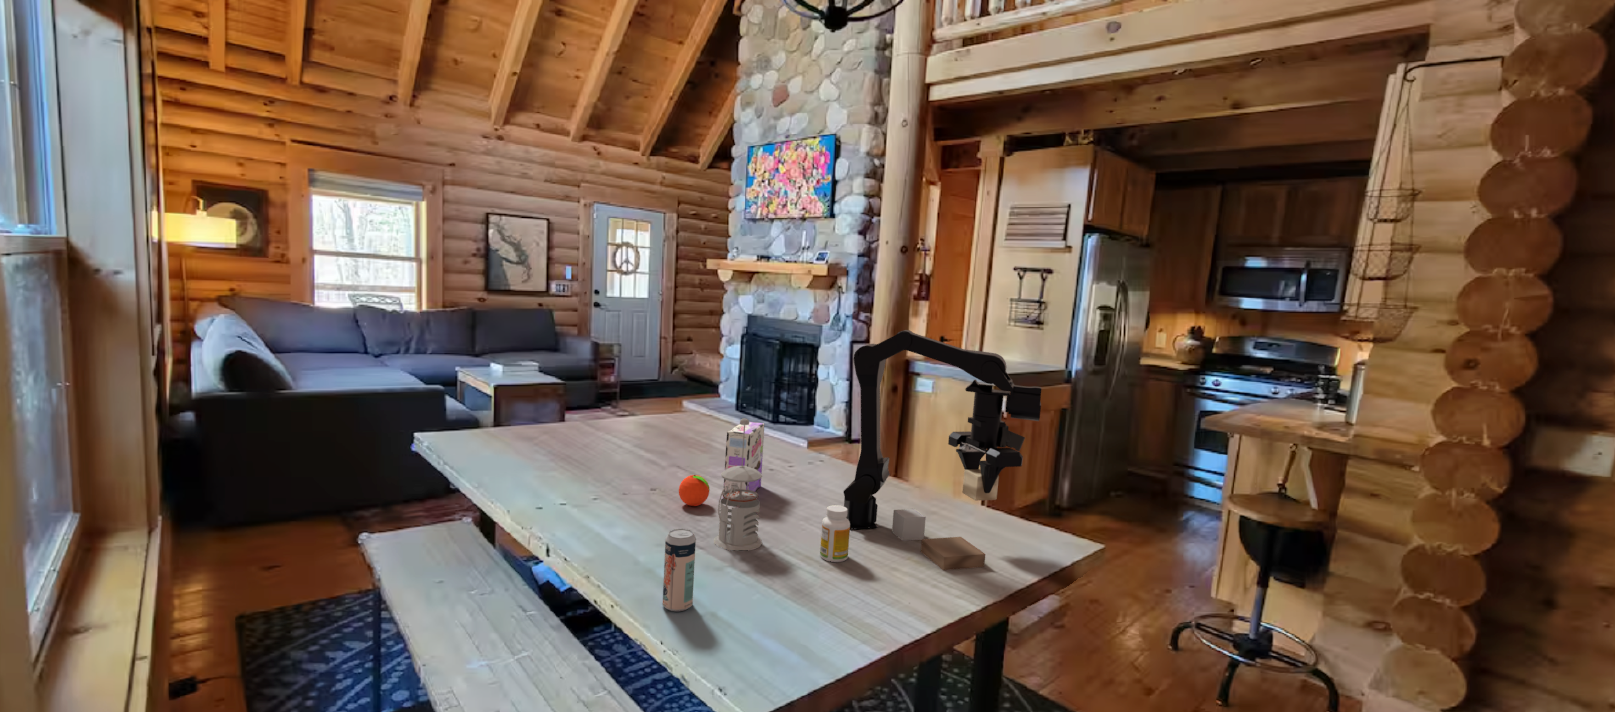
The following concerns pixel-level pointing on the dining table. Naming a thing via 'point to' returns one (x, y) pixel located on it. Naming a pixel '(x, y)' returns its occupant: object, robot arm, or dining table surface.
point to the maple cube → (977, 486)
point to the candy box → (745, 452)
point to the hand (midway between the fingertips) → (979, 488)
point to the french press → (739, 509)
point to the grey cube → (908, 524)
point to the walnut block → (952, 553)
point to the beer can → (679, 570)
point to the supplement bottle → (835, 534)
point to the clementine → (694, 490)
